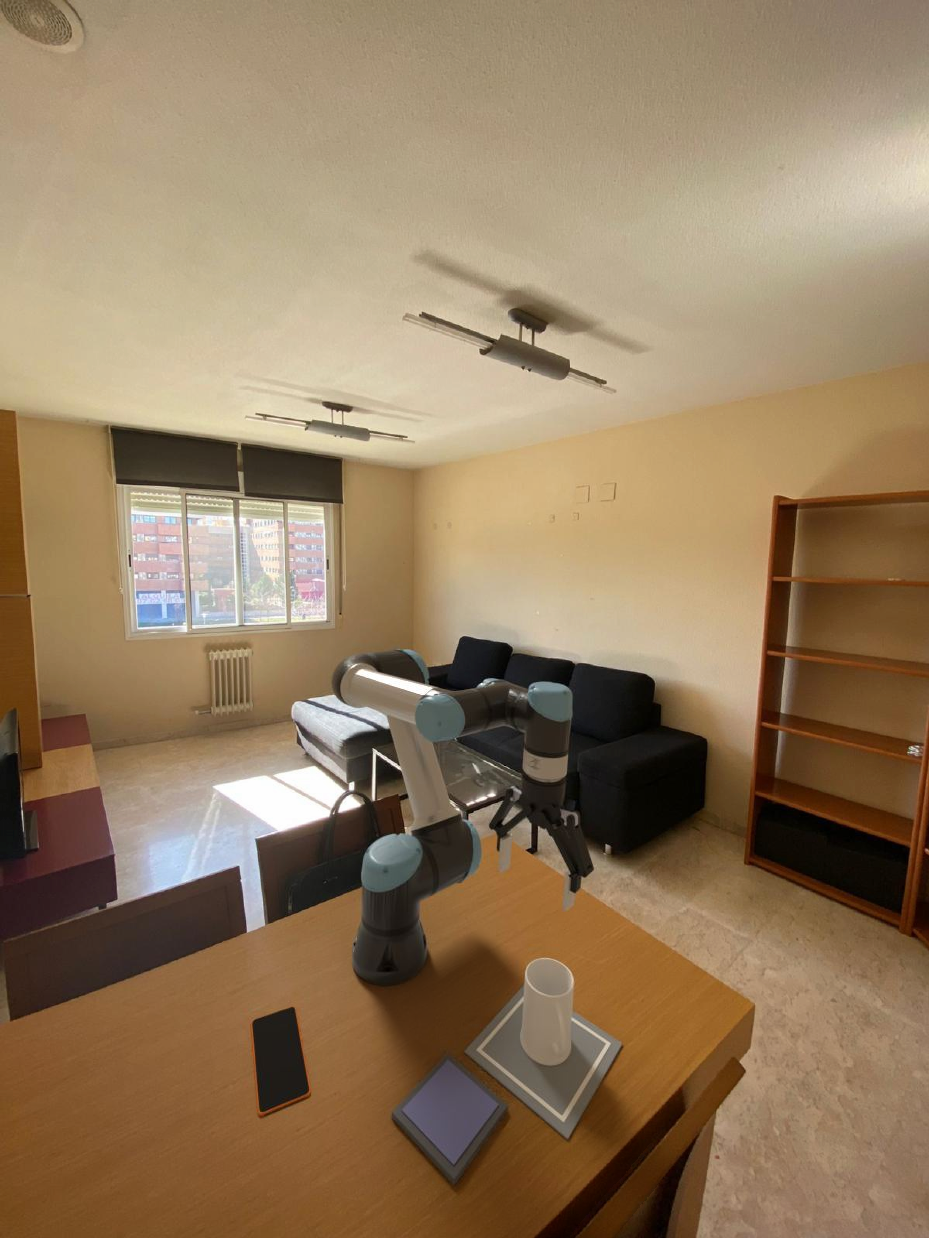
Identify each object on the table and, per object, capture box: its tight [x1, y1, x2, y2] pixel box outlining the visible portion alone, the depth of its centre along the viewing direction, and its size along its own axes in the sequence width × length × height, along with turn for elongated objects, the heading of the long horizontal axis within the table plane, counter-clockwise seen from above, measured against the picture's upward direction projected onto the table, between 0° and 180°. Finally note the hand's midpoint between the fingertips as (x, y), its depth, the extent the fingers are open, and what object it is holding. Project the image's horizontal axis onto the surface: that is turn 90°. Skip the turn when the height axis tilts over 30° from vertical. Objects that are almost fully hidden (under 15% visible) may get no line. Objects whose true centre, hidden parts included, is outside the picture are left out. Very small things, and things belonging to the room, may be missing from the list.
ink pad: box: [391, 1052, 509, 1186], centre depth 73 cm, size 12×12×1 cm
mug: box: [520, 957, 575, 1066], centre depth 83 cm, size 12×8×12 cm
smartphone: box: [250, 1005, 312, 1118], centre depth 81 cm, size 8×17×1 cm, turn 26°
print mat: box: [463, 984, 623, 1141], centre depth 84 cm, size 19×19×1 cm
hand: (534, 886), depth 89 cm, fingers open, 13 cm apart
